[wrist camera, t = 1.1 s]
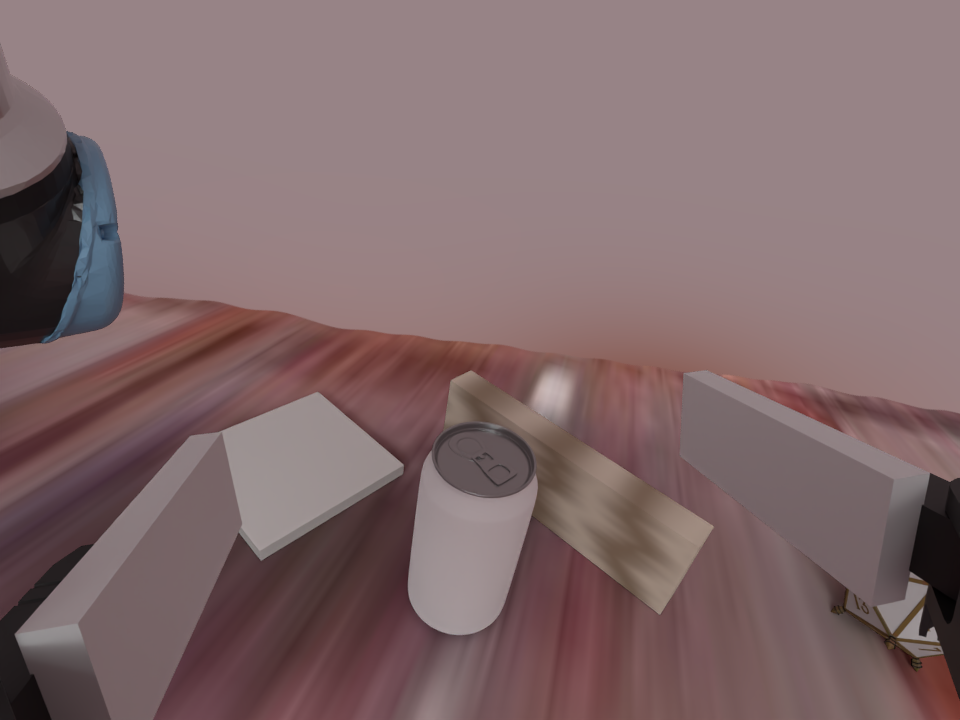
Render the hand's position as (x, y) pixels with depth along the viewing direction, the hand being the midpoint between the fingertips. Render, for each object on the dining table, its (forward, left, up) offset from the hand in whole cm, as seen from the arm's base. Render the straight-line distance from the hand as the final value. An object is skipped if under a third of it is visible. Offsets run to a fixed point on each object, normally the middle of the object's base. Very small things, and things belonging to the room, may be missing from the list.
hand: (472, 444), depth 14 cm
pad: (-21, +6, -21) cm, 30 cm away
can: (-5, +8, -21) cm, 23 cm away
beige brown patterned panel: (-5, +18, -21) cm, 28 cm away
